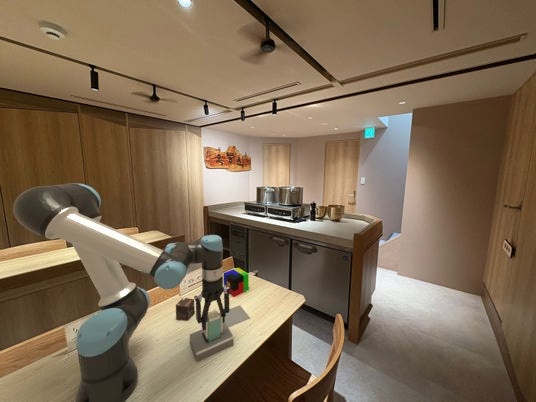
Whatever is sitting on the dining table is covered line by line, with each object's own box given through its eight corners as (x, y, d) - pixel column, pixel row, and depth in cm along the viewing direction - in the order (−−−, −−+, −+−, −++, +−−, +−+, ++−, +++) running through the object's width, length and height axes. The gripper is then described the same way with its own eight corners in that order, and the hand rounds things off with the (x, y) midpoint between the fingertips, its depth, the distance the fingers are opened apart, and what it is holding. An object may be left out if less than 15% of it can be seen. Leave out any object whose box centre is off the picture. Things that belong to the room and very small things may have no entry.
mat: (227, 328, 91) (227, 327, 91) (218, 314, 100) (218, 312, 100) (250, 319, 97) (250, 318, 97) (239, 306, 106) (239, 305, 106)
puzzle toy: (223, 289, 121) (223, 273, 119) (238, 283, 127) (238, 267, 126) (233, 297, 113) (233, 279, 112) (248, 290, 120) (248, 273, 119)
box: (187, 322, 94) (187, 307, 93) (175, 320, 96) (175, 305, 95) (195, 313, 100) (194, 298, 99) (183, 311, 102) (183, 297, 100)
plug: (209, 349, 80) (209, 320, 78) (205, 341, 83) (205, 313, 82) (220, 344, 82) (220, 315, 80) (216, 336, 86) (216, 309, 84)
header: (196, 363, 74) (196, 353, 74) (189, 343, 83) (189, 334, 82) (233, 346, 82) (233, 337, 81) (223, 329, 90) (223, 320, 90)
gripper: (189, 288, 71) (192, 350, 74) (238, 275, 81) (238, 330, 84) (185, 278, 77) (187, 336, 80) (231, 267, 87) (231, 319, 90)
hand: (213, 333), depth 82 cm, fingers open, 5 cm apart
